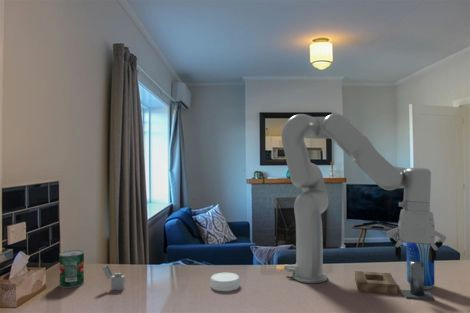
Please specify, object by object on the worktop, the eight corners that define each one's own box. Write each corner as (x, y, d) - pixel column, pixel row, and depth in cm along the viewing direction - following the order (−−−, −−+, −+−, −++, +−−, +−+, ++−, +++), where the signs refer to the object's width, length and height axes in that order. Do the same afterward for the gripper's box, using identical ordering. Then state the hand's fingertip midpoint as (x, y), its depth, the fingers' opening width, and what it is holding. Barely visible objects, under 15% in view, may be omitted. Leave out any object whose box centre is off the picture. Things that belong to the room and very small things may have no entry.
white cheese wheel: (245, 288, 122) (245, 278, 122) (219, 294, 116) (219, 283, 116) (230, 280, 130) (230, 270, 130) (205, 285, 125) (205, 275, 125)
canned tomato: (55, 284, 126) (55, 253, 126) (78, 278, 131) (78, 248, 132) (65, 290, 120) (65, 257, 120) (88, 283, 126) (88, 252, 126)
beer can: (438, 291, 118) (437, 242, 118) (410, 289, 120) (410, 241, 120) (429, 282, 126) (429, 236, 126) (404, 280, 128) (403, 236, 128)
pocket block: (358, 291, 118) (358, 282, 118) (354, 279, 130) (354, 270, 130) (397, 294, 115) (397, 284, 115) (390, 281, 127) (390, 273, 127)
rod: (412, 295, 112) (411, 263, 113) (409, 291, 116) (408, 260, 116) (426, 296, 112) (425, 264, 112) (422, 291, 115) (421, 260, 116)
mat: (406, 298, 112) (406, 296, 112) (402, 291, 118) (402, 289, 118) (434, 300, 110) (434, 298, 110) (428, 293, 116) (428, 291, 116)
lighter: (124, 288, 122) (124, 264, 122) (123, 290, 120) (123, 266, 120) (104, 288, 122) (104, 264, 122) (102, 289, 120) (102, 265, 120)
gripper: (389, 206, 113) (387, 260, 113) (450, 210, 109) (448, 266, 109) (385, 203, 120) (383, 254, 120) (442, 206, 116) (440, 259, 116)
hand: (414, 260), depth 114 cm, fingers open, 9 cm apart
